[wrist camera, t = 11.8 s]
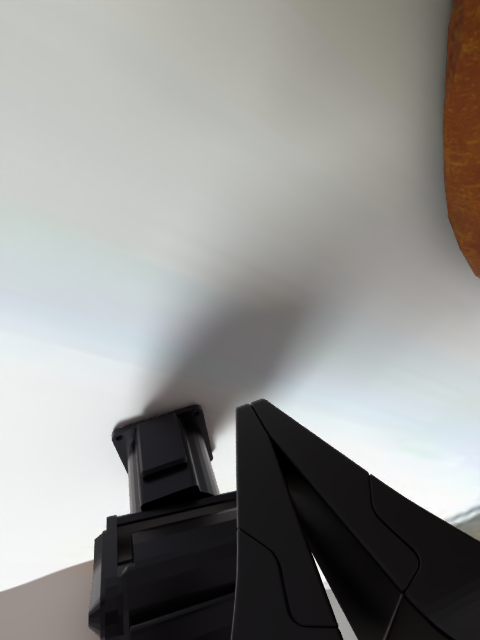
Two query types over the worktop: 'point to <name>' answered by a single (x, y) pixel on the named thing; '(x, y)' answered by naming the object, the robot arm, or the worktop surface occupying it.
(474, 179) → the bread
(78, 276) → the worktop surface
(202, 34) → the worktop surface
